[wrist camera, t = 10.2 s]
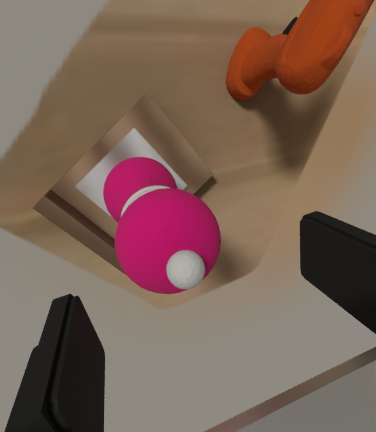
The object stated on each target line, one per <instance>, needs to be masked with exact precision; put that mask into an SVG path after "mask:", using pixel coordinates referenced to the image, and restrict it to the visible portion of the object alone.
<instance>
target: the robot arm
mask: <svg viewBox="0 0 376 432" xmlns="http://www.w3.org/2000/svg"><path fill="white" fill-rule="evenodd" d="M300 264H301V266H300V268H301V274H302V276H303V277H304V278H305V279H306V280H307V281H309V282H310V283H311V284H313V285H314V286H315V287H316V288H318V289H319V290H320V291H322V292H323V293H324V294H325V295H327V296H328V297H329V298H330V299H332V300H333V301H334V302H335V303H337V304H338V305H339V306H341V307H342V308H343V309H344V310H346V311H347V312H348V313H349V314H351V315H352V316H353V317H355V318H356V319H357V320H358V321H360V322H361V323H362V324H363V325H365V326H366V327H367V328H369V329H370V330H371V331H373V332H374V333H375V334H376V235H374V234H372V233H369V232H367V231H365V230H362V229H360V228H357V227H355V226H352V225H350V224H348V223H345V222H343V221H340V220H338V219H336V218H333V217H331V216H328V215H326V214H324V213H321V212H318V211H316V212H312V213H309V214H306V215H304V216H303V218H302V220H301V221H300ZM104 386H105V353H104V349H103V346H102V344H101V342H100V340H99V338H98V336H97V333H96V331H95V329H94V327H93V325H92V323H91V321H90V319H89V317H88V314H87V312H86V310H85V308H84V306H83V304H82V302H81V300H80V298H79V296H75V297H73V295H72V294H68V295H65V296H62V297H60V298H56V299H54V300H53V301H52V304H51V307H50V310H49V314H48V316H47V320H46V323H45V326H44V329H43V332H42V335H41V338H40V341H39V345H38V346H36V347H35V348H34V349H33V351H32V353H31V356H30V358H29V361H28V364H27V367H26V370H25V373H24V376H23V379H22V382H21V385H20V388H19V391H18V394H17V396H16V399H15V403H14V406H13V408H12V411H11V414H10V417H9V420H8V423H7V426H6V429H5V432H104ZM205 432H376V347H375V348H373V349H370V350H368V351H366V352H364V353H362V354H360V355H358V356H356V357H354V358H352V359H350V360H348V361H346V362H344V363H342V364H340V365H338V366H336V367H334V368H331V369H330V370H327V371H325V372H323V373H321V374H319V375H317V376H315V377H313V378H311V379H309V380H307V381H305V382H303V383H301V384H299V385H297V386H295V387H293V388H291V389H289V390H287V391H285V392H283V393H281V394H279V395H277V396H275V397H273V398H271V399H269V400H267V401H265V402H263V403H261V404H259V405H257V406H255V407H253V408H251V409H249V410H247V411H245V412H243V413H241V414H239V415H237V416H235V417H233V418H231V419H229V420H227V421H225V422H223V423H221V424H219V425H217V426H215V427H213V428H211V429H209V430H207V431H205Z"/></svg>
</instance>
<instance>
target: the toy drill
mask: <svg viewBox="0 0 376 432" xmlns="http://www.w3.org/2000/svg"><path fill="white" fill-rule="evenodd" d="M373 1H374V0H310V1H309V2H308V4H307V5H306V7H305V8H304V10H303V11H302V13H301V14H300V16H299V17H298V19H297V17H295V18H294V19H293V20H292V21H291V22H290V24H289V25H288V26H287V28H286V29H285V30H284V32H283V33H282V34H279V35H276V36H272V37H271V36H270V35H269V34H268V33H267V32H266V31H265V30H263V29H261V28H257V27H254V28H251V29H250V30H248V31H247V32H246V33H245V34H244V35H243V36H242V38H241V39H240V40H239V42H238V44H237V46H236V48H235V50H234V53H233V55H232V58H231V61H230V64H229V67H228V72H227V78H226V84H227V89H228V91H229V93H230V94H231V95H232V96H233V97H234V98H236V99H239V100H245V99H250V98H251V97H253V96H254V95H255V94H256V93H257V92H258V91H259V90H260V89H261V87H262V86H263V84H264V82H266V81H268V80H270V79H273V78H278V79H279V81H280V83H281V84H282V85H283V86H284V87H285V88H286V89H287V90H289V91H290V92H292V93H295V94H309V93H311V92H313V91H315V90H317V89H318V88H319V87H320V86H321V85H322V84H323V83H324V82H325V81H326V79H327V78H328V77H329V75H330V74H331V73H332V71H333V70H334V69H335V67H336V66H337V64H338V63H339V61H340V60H341V58H342V57H343V55H344V53H345V52H346V50H347V48H348V47H349V45H350V43H351V42H352V40H353V38H354V36H355V34H356V33H357V31H358V29H359V27H360V25H361V24H362V22H363V20H364V18H365V16H366V15H367V13H368V11H369V9H370V7H371V5H372V3H373Z"/></svg>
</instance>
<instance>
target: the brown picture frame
mask: <svg viewBox="0 0 376 432" xmlns="http://www.w3.org/2000/svg"><path fill="white" fill-rule="evenodd" d="M133 157H147V158H151V159H154V160H156V161H158V162H160V163H161V164H163V165H164V166H165V167H166V168H167V169H168V170H169V172H170V173H171V174H172V176H173V177H174V179H175V181H176V185H177V188H178V189H181V190H184V191H186V192H189V193H191V194H194V193H195V192H196V191H197V190H198V189H199V188H200V187H201V186H202V185H203V184H204V183H205V182H206V181H207V180H208V179H209V178H210V177H211V176H212V175H213V174H214V173H213V172H212V171H211V170H210V169H209V167H208V166H207V165H206V164H205V162H204V161H203V160H202V159H201V158H200V156H199V155H198V154H197V153H196V152H195V150H194V149H193V148H192V147H191V146H190V144H189V143H188V142H187V141H186V140H185V138H184V137H183V136H182V135H181V133H180V132H179V131H178V130H177V129H176V127H175V126H174V125H173V124H172V123H171V121H170V120H169V119H168V118H167V117H166V115H165V114H164V113H163V112H162V111H161V109H160V108H159V107H158V106H157V104H156V103H155V102H154V101H153V100H152V98H151V97H150V96H149V95H148V94H145V95H144V96H143V97H142V98H141V99H140V100H139V101H138V102H137V103H136V104H135V105H134V106H133V107H132V108H131V109H130V110H129V111H128V112H127V113H126V114H125V115H124V116H123V117H122V118H121V119H120V120H119V121H118V122H117V123H116V124H115V125H114V126H113V127H112V128H111V129H110V130H109V131H108V132H107V133H106V134H105V135H104V136H103V137H102V138H101V139H100V140H99V141H98V142H97V143H96V144H95V145H94V146H93V147H92V148H91V149H90V150H89V151H88V152H87V153H86V154H85V155H84V156H83V157H82V158H81V159H80V160H79V161H78V162H77V163H76V164H75V165H74V166H73V167H72V168H71V169H70V170H69V171H68V172H67V173H66V174H65V175H64V176H63V177H62V178H61V179H60V180H59V181H58V182H57V183H56V184H55V185H54V186H53V187H52V188H51V189H50V190H49V191H48V192H47V193H46V194H45V195H44V196H43V197H42V198H41V199H40V200H39V201H38V203H37V204H36V205H35V206H34V207H33V209H34V210H36V211H37V212H39V213H40V214H41V215H43V216H44V217H46V218H47V219H48V220H50V221H51V222H53V223H54V224H55V225H57V226H58V227H60V228H61V229H62V230H64V231H65V232H67V233H68V234H69V235H71V236H72V237H74V238H75V239H77V240H78V241H79V242H81V243H82V244H84V245H85V246H86V247H88V248H89V249H91V250H92V251H93V252H95V253H96V254H98V255H99V256H100V257H102V258H103V259H105V260H106V261H107V262H109V263H110V264H112V265H113V266H114V267H116V268H117V269H119V270H120V271H121V272H123V273H124V274H125V272H124V271H123V269H122V267H121V266H120V263H119V261H118V258H117V255H116V250H115V233H116V230H117V226H118V222H116V221H115V220H114V219H113V218H112V216H111V215H110V213H109V212H108V210H107V208H106V205H105V202H104V197H103V189H104V183H105V180H106V178H107V176H108V174H109V173H110V171H111V170H112V169H113V168H114V167H115V166H116V165H117V164H118V163H120V162H121V161H124V160H126V159H129V158H133Z"/></svg>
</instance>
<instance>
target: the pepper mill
mask: <svg viewBox="0 0 376 432" xmlns="http://www.w3.org/2000/svg"><path fill="white" fill-rule="evenodd" d="M103 197H104V202H105V205H106V208H107V210H108V212H109V213H110V215H111V216H112V218H113V219H114V220H115V221H116V222H118V226H117V230H116V233H115V250H116V255H117V258H118V261H119V263H120V266H121V267H122V269H123V271H124V272H125V274H126V275H127V276H128V277H129V278H130V279H131V280H132V281H133V282H134V283H136V284H137V285H139V286H140V287H141V288H143V289H146V290H148V291H152V292H155V293H162V294H173V293H179V292H182V291H185V290H188V289H191V288H193V287H195V286H197V285H198V284H199V283H200V282H201V281H202V280H203V279H204V278H205V277H206V276H207V275H208V274H209V272H210V271H211V270H212V268H213V266H214V265H215V263H216V260H217V258H218V255H219V251H220V245H221V238H220V230H219V226H218V223H217V220H216V218H215V216H214V214H213V213H212V211H211V210H210V209H209V207H208V206H207V205H206V204H205V203H204V202H203V201H202V200H201V199H200V198H198V197H196V196H194V195H193V194H191V193H189V192H186V191H184V190H181V189H178V188H177V185H176V181H175V179H174V177H173V176H172V174H171V173H170V172H169V170H168V169H167V168H166V167H165V166H164V165H163V164H161V163H160V162H158V161H156V160H154V159H151V158H147V157H133V158H129V159H126V160H124V161H121V162H120V163H118V164H117V165H116V166H115V167H114V168H113V169H112V170H111V171H110V173H109V174H108V176H107V178H106V180H105V183H104V189H103Z"/></svg>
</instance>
